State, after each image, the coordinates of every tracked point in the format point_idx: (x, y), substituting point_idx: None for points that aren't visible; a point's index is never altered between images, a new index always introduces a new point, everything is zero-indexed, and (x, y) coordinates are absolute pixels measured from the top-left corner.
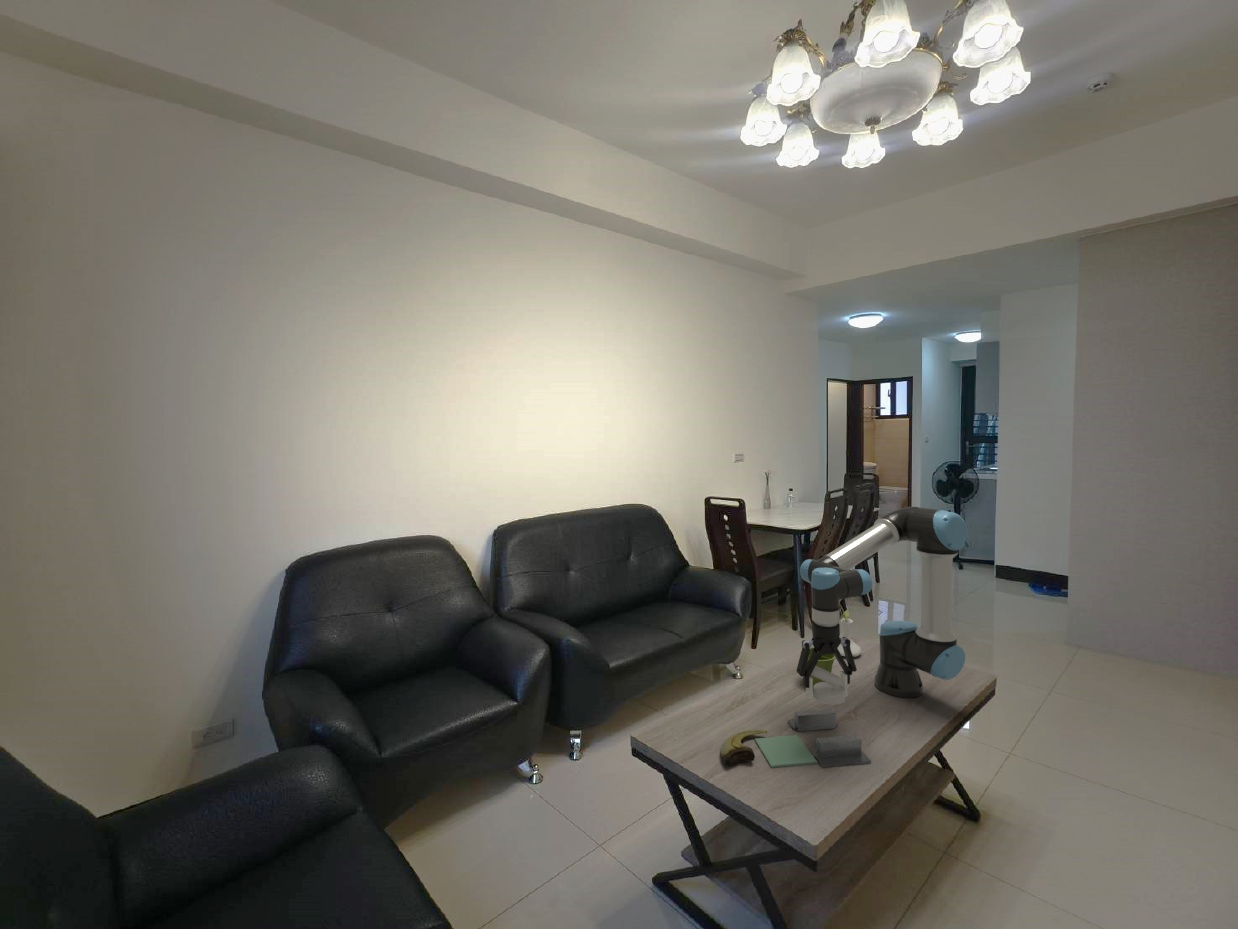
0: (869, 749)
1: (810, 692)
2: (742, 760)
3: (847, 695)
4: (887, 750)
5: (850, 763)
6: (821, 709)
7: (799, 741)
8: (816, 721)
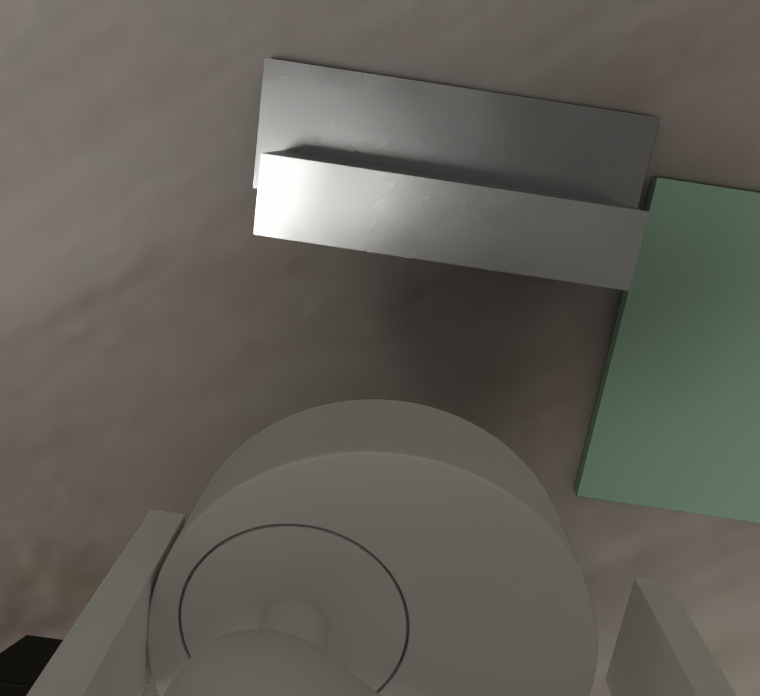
0: (172, 214)
1: (708, 656)
2: None
3: (146, 517)
4: (51, 165)
5: (430, 83)
6: None
7: (612, 425)
8: None
